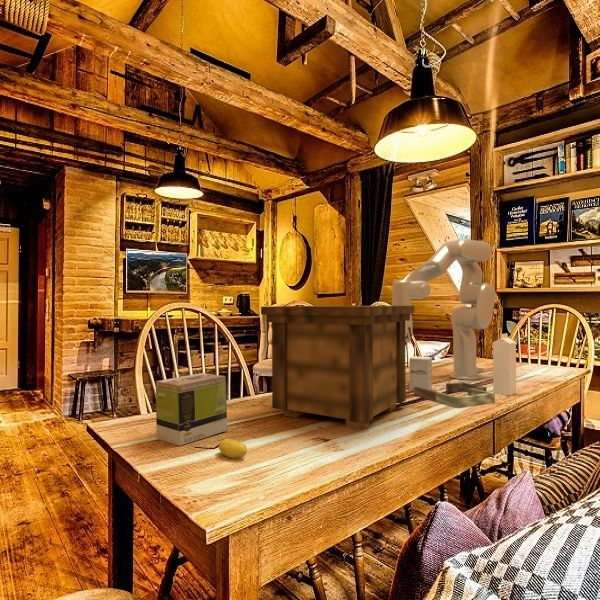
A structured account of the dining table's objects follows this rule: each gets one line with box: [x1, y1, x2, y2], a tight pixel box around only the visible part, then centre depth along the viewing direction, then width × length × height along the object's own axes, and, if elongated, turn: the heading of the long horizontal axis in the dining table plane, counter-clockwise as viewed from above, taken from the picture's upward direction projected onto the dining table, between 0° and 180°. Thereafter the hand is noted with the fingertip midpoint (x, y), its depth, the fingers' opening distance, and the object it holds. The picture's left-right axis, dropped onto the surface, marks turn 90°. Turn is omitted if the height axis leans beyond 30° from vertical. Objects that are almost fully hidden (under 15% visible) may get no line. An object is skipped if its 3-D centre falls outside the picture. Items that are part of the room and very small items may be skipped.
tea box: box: [155, 372, 228, 447], centre depth 107 cm, size 15×10×15 cm
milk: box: [492, 332, 517, 396], centre depth 155 cm, size 6×6×22 cm
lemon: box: [218, 438, 248, 459], centre depth 92 cm, size 4×8×4 cm, turn 47°
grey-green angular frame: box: [413, 381, 496, 409], centre depth 148 cm, size 23×20×3 cm
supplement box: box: [408, 355, 433, 392], centre depth 161 cm, size 7×7×13 cm
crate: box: [260, 305, 416, 430], centre depth 130 cm, size 35×35×33 cm
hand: (400, 355), depth 171 cm, fingers closed
